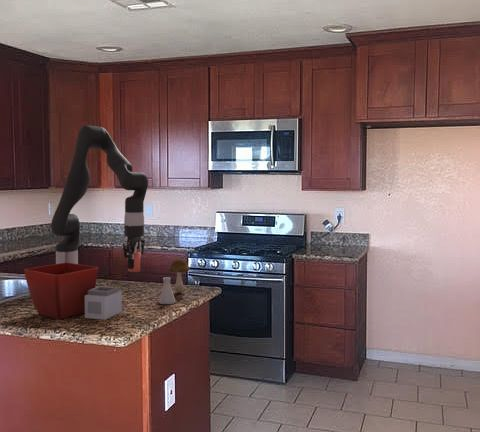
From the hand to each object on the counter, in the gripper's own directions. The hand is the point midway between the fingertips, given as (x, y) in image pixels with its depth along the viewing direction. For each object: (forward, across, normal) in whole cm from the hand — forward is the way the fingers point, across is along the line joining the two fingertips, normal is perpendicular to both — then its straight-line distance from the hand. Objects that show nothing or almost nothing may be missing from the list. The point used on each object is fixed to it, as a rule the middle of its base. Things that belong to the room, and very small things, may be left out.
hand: (134, 267), depth 222 cm
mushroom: (+15, -27, +7) cm, 32 cm away
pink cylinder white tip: (+1, 0, 0) cm, 1 cm away
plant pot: (+15, +20, -18) cm, 31 cm away
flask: (+15, -8, +10) cm, 20 cm away
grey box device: (+15, +17, -3) cm, 23 cm away
